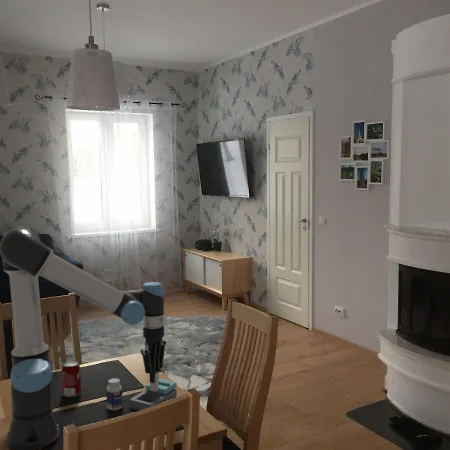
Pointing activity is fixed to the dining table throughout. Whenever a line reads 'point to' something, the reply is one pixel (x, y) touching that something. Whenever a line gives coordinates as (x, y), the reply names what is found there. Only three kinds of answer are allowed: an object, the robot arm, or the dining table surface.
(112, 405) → the pill bottle
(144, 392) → the socket block
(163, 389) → the teal ridged square block
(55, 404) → the dining table surface
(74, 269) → the robot arm
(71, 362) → the soda can
